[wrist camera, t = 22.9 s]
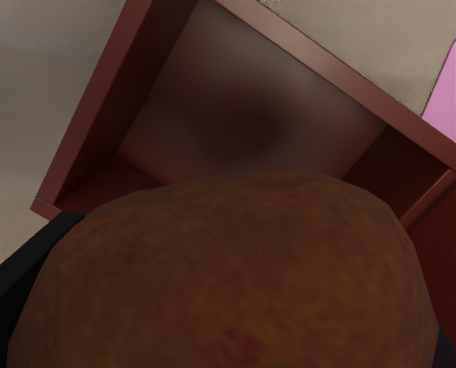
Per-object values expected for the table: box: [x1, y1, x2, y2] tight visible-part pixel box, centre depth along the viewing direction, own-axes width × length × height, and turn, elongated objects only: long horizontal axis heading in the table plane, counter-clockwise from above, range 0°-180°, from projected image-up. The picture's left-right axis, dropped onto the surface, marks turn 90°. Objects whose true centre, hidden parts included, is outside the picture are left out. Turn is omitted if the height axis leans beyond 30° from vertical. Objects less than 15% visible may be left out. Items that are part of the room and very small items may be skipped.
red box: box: [30, 0, 456, 234], centre depth 23 cm, size 17×15×10 cm
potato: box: [6, 169, 439, 368], centre depth 9 cm, size 8×11×8 cm
